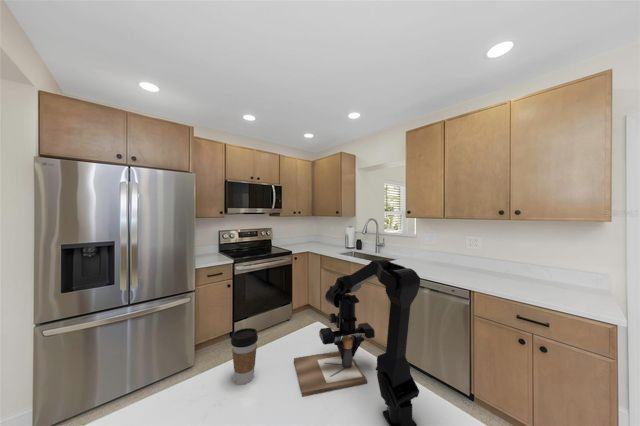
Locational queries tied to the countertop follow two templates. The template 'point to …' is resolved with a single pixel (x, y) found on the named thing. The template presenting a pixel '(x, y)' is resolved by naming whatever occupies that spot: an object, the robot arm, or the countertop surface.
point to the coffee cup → (244, 354)
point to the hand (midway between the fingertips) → (347, 357)
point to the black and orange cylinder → (347, 351)
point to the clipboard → (326, 373)
